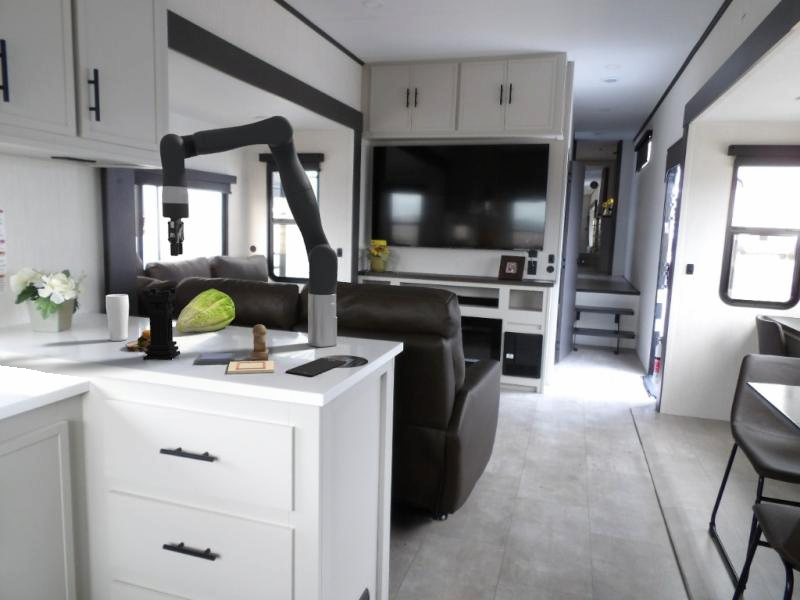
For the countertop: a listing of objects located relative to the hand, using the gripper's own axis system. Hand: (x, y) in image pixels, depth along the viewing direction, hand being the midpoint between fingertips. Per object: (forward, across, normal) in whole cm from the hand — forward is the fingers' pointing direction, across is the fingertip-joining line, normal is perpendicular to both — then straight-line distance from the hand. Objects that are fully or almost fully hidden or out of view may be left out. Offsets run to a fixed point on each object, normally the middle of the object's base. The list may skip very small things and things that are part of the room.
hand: (176, 255), depth 172 cm
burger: (+30, +1, +10) cm, 31 cm away
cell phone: (+30, -30, -41) cm, 59 cm away
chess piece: (+30, -12, +3) cm, 32 cm away
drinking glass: (+30, +14, +21) cm, 39 cm away
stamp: (+29, -18, -25) cm, 42 cm away
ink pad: (+29, -19, -13) cm, 37 cm away
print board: (+29, -29, -23) cm, 47 cm away
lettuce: (+30, +29, -4) cm, 42 cm away
